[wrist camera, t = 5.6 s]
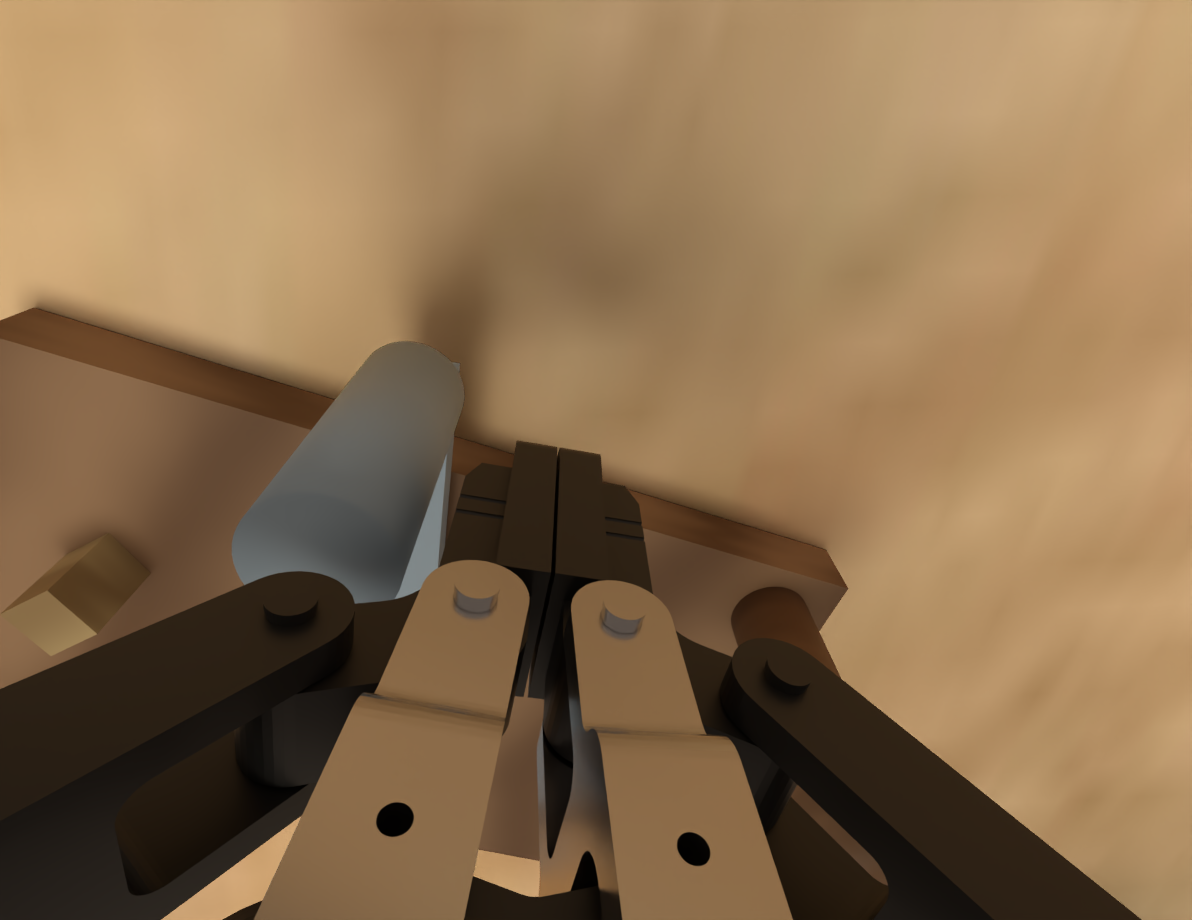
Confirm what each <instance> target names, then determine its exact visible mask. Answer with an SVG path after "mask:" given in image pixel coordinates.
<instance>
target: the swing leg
mask: <svg viewBox="0 0 1192 920" xmlns="http://www.w3.org/2000/svg"><path fill="white" fill-rule="evenodd" d="M459 372H460V363H455V362H451V361H450V360H449V359H448V358H447V357H446V356H444V355H443V354H442V353H441V352H439V351H437V350H436V349H434V348H432V347H430V346H427V345H425V344H422V343H417V342H410V341H401V342H394V343H390V344H387V345H385V346H383V347H380V348H379V349H377V350H376V351H374V352H373V353H372V354H371V355H370V356H369V357H368V359H367V360H366V361H365V362H364V364H363V365H362V366H361V367H360V369H359V370H358V371H357V372H356V374H355V375H354V376H353V378H352V379H351V380H350V381H349V383H348V384H347V385H346V386H345V388H344V389H343V390H342V392H341V393H340V394H339V395H338V397H337V398H336V399H335V400H334V402H333V403H332V404H331V406H330V407H329V408H328V409H327V411H326V412H325V413H324V415H323V416H322V417H321V418H320V420H319V421H318V422H317V423H316V425H315V426H314V427H313V429H312V430H311V431H310V432H309V434H308V435H307V436H306V437H305V439H304V440H303V441H302V443H301V444H300V445H299V446H298V448H297V449H296V450H295V451H294V453H293V454H292V455H291V457H290V458H289V459H288V460H287V462H286V463H285V464H284V466H283V467H282V468H281V469H280V471H279V472H278V473H277V474H276V476H275V477H274V478H273V480H272V481H271V482H270V483H269V485H268V486H267V487H266V488H265V490H264V491H263V492H262V494H261V495H260V496H259V497H258V499H257V500H256V501H255V502H254V504H253V505H252V506H251V508H250V509H249V510H248V511H247V513H246V514H245V515H244V517H243V518H242V519H241V520H240V522H239V524H238V526H237V527H236V530H235V532H234V535H233V540H232V558H233V563H234V566H235V569H236V572H237V573H238V575H239V577H240V579H241V581H242V582H243V584H244V585H246V584H248V583H250V582H253V581H255V580H257V579H260V578H263V577H266V576H269V575H273V574H277V573H283V572H292V571H304V572H314V573H319V574H323V575H326V576H329V577H331V578H333V579H336V580H337V581H339V582H340V583H342V584H343V585H344V586H345V587H346V588H347V589H348V590H349V591H350V593H351V594H352V596H353V599H354V602H355V604H357V603H367V602H378V601H387V600H393V599H397V598H401V597H404V596H407V595H410V594H412V593H414V592H416V591H418V590H420V589H421V587H422V584H423V582H424V581H425V579H426V578H427V576H428V575H429V574H430V573H431V572H433V571H434V570H435V569H437V568H439V566H440V562H441V559H442V555H443V552H444V548H445V538H446V526H447V514H448V502H449V490H450V478H451V467H452V455H453V443H454V432H455V429H456V426H457V423H458V420H459V417H460V414H461V411H462V408H463V405H464V398H465V392H464V386H463V382H462V379H461V376H460V374H459Z"/></svg>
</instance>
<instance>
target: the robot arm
mask: <svg viewBox="0 0 1192 920" xmlns="http://www.w3.org/2000/svg"><path fill="white" fill-rule="evenodd" d="M641 525H642V520H641V513H640V507H639V503H638V502H637V501H636V499H635V498H634V497H633V496H632V494H631V493H630V492H629V491H628V489H627V488H626V487H625V486H621V485H615V484H609V483H603V482H602V468H601V456H600V454H595V453H589V452H583V451H577V450H571V449H565V448H560V449H559V452H558V455H557V447H553V446H547V445H541V444H535V443H529V442H523V441H517V442H516V448H515V454H514V460H513V466H512V468H511V467H505V466H499V465H493V464H487V463H481V464H480V465H478V466H477V467H476V468H475V469H473V470H472V471H471V472H470V473H468V474H467V475H466V476H465V479H464V482H463V486H462V489H461V493H460V497H459V500H458V503H457V507H456V511H455V513H454V517H453V520H452V524H451V527H450V531H449V534H448V538H447V541H446V545H445V548H444V552H443V555H442V559H441V562H440V566H439V568H437V569H435V570H434V571H433V572H431V573H430V574H429V575H428V576H427V578H426V579H425V581H424V582H423V584H422V587H421V589H420V590H418V591H416V592H414V593H412V594H410V595H407V596H404V597H401V598H397V599H393V600H387V601H378V602H367V603H357V604H355V602H354V599H353V596H352V594H351V593H350V591H349V590H348V589H347V588H346V587H345V586H344V585H343V584H342V583H340V582H339V581H337V580H336V579H333V578H331V577H329V576H326V575H323V574H319V573H314V572H304V571H292V572H283V573H277V574H273V575H269V576H266V577H263V578H260V579H257V580H255V581H253V582H250V583H248V584H246V585H243V586H241V587H239V588H236V589H234V590H232V591H229V592H227V593H225V594H222V595H220V596H217V597H215V598H213V599H210V600H208V601H206V602H203V603H201V604H199V605H196V606H194V607H192V608H189V609H187V610H185V611H182V612H180V613H178V614H175V615H173V616H171V617H168V618H166V619H163V620H161V621H159V622H156V623H154V624H152V625H149V626H147V627H145V628H142V629H140V630H138V631H135V632H133V633H131V634H128V635H126V636H124V637H121V638H119V639H116V640H114V641H112V642H109V643H107V644H105V645H102V646H100V647H98V648H95V649H93V650H91V651H88V652H86V653H84V654H81V655H79V656H77V657H74V658H72V659H70V660H67V661H65V662H62V663H60V664H58V665H55V666H53V667H51V668H48V669H46V670H44V671H41V672H39V673H37V674H34V675H32V676H30V677H27V678H25V679H23V680H20V681H18V682H15V683H13V684H11V685H8V686H6V687H4V688H1V689H0V920H161V919H163V918H164V917H165V916H167V915H168V914H169V913H171V912H172V911H173V910H175V909H176V908H177V907H179V906H180V905H181V904H183V903H184V902H185V901H187V900H188V899H189V898H191V897H192V896H194V895H195V894H196V893H198V892H199V891H200V890H202V889H203V888H204V887H206V886H207V885H208V884H210V883H211V882H212V881H214V880H215V879H216V878H218V877H219V876H220V875H222V874H223V873H225V872H226V871H227V870H229V869H230V868H231V867H233V866H234V865H235V864H237V863H238V862H239V861H241V860H242V859H243V858H245V857H246V856H247V855H249V854H250V853H251V852H253V851H254V850H255V849H257V848H258V847H260V846H261V845H262V844H264V843H265V842H266V841H268V840H269V839H270V838H272V837H273V836H274V835H276V834H277V833H278V832H280V831H281V830H282V829H284V828H285V827H286V826H288V825H289V824H291V823H292V822H293V821H295V820H296V819H297V818H299V817H300V816H301V815H302V817H301V819H300V821H299V823H298V826H297V828H296V830H295V832H294V834H293V836H292V838H291V841H290V843H289V845H288V847H287V849H286V851H285V854H284V856H283V858H282V860H281V862H280V864H279V866H278V869H277V871H276V873H275V875H274V877H273V879H272V881H271V884H270V886H269V888H268V890H267V892H266V894H265V897H264V899H263V900H262V901H260V902H258V903H255V904H253V905H251V906H248V907H246V908H243V909H241V910H239V911H237V912H236V913H234V914H232V915H230V916H228V917H226V918H225V919H223V920H1141V919H1140V918H1139V917H1137V916H1136V915H1135V914H1134V913H1132V912H1131V911H1130V910H1129V909H1127V908H1126V907H1125V906H1124V905H1122V904H1121V903H1120V902H1119V901H1118V900H1116V899H1115V898H1114V897H1113V896H1111V895H1110V894H1109V893H1108V892H1106V891H1105V890H1104V889H1103V888H1101V887H1100V886H1099V885H1098V884H1096V883H1095V882H1094V881H1093V880H1091V879H1090V878H1089V877H1088V876H1086V875H1085V874H1084V873H1083V872H1081V871H1080V870H1079V869H1078V868H1076V867H1075V866H1074V865H1073V864H1071V863H1070V862H1069V861H1068V860H1066V859H1065V858H1064V857H1063V856H1061V855H1060V854H1059V853H1058V852H1056V851H1055V850H1054V849H1053V848H1051V847H1050V846H1049V845H1048V844H1046V843H1045V842H1044V841H1043V840H1041V839H1040V838H1039V837H1038V836H1036V835H1035V834H1034V833H1033V832H1031V831H1030V830H1029V829H1028V828H1026V827H1025V826H1024V825H1023V824H1021V823H1020V822H1019V821H1018V820H1017V819H1015V818H1014V817H1013V816H1012V815H1010V814H1009V813H1008V812H1007V811H1005V810H1004V809H1003V808H1002V807H1000V806H999V805H998V804H997V803H995V802H994V801H993V800H992V799H990V798H989V797H988V796H987V795H985V794H984V793H983V792H982V791H980V790H979V789H978V788H977V787H975V786H974V785H973V784H972V783H970V782H969V781H968V780H967V779H965V778H964V777H963V776H962V775H960V774H959V773H958V772H957V771H955V770H954V769H953V768H952V767H950V766H949V765H948V764H947V763H945V762H944V761H943V760H942V759H940V758H939V757H938V756H937V755H935V754H934V753H933V752H932V751H930V750H929V749H928V748H927V747H925V746H924V745H923V744H922V743H920V742H919V741H918V740H917V739H915V738H914V737H913V736H912V735H911V734H909V733H908V732H907V731H906V730H904V729H903V728H902V727H901V726H899V725H898V724H897V723H896V722H894V721H893V720H892V719H891V718H889V717H888V716H887V715H886V714H884V713H883V712H882V711H881V710H879V709H878V708H877V707H876V706H874V705H873V704H872V703H871V702H869V701H868V700H867V699H866V698H864V697H863V696H862V695H861V694H859V693H858V692H857V691H856V690H854V689H853V688H852V687H851V686H849V685H848V684H847V683H846V682H844V681H843V680H842V679H841V678H839V677H838V676H837V675H836V674H834V673H833V672H832V671H831V670H829V669H828V668H827V667H826V666H824V665H823V664H822V663H821V662H819V661H818V660H817V659H816V658H814V657H813V656H812V655H810V654H809V653H807V652H806V651H804V650H802V649H801V648H799V647H797V646H794V645H792V644H790V643H787V642H784V641H781V640H776V639H770V638H755V639H751V640H748V641H745V642H743V643H742V644H741V645H739V646H738V647H737V649H736V650H735V652H734V654H733V657H731V656H728V655H726V654H723V653H721V652H718V651H716V650H713V649H710V648H708V647H705V646H703V645H700V644H698V643H696V642H693V641H691V640H690V639H688V638H686V637H684V636H683V635H681V634H680V633H678V632H677V631H676V630H675V627H674V623H673V620H672V617H671V614H670V612H669V611H668V609H667V607H666V606H665V605H664V604H663V603H662V602H661V601H660V600H659V599H658V598H657V597H656V596H655V595H653V591H652V584H651V578H650V571H649V565H648V558H647V552H646V546H645V542H644V533H643V526H641ZM529 670H530V673H529ZM528 675H529V686H528V698H536V699H544V713H543V721H542V725H541V729H540V734H539V738H538V742H537V780H538V816H539V852H540V886H539V897H528V896H525V895H521V894H519V893H516V892H513V891H511V890H508V889H505V888H503V887H500V886H497V885H495V884H492V883H490V882H487V881H484V880H482V879H479V878H476V877H474V876H473V873H474V869H475V864H476V859H477V854H478V849H479V844H480V839H481V835H482V830H483V825H484V820H485V815H486V810H487V806H488V801H489V796H490V791H491V786H492V781H493V776H494V772H495V767H496V762H497V757H498V752H499V747H500V743H501V738H502V736H503V734H504V733H505V731H506V730H507V727H508V725H509V722H510V717H511V712H512V708H513V703H514V698H515V696H518V697H524V693H525V688H526V684H527V679H528ZM797 785H798V786H799V787H800V788H801V789H803V790H804V791H805V792H806V793H807V794H808V795H809V796H810V797H811V798H812V799H813V800H814V801H815V802H816V803H817V804H818V805H819V806H820V807H821V808H822V809H823V810H824V811H825V812H826V813H827V814H829V815H830V816H831V817H832V818H833V819H834V820H835V821H836V822H837V823H838V824H839V825H840V826H841V827H842V828H843V829H844V830H845V831H846V832H847V833H848V834H849V835H850V836H851V837H852V838H853V839H855V840H856V841H857V842H858V843H859V844H860V845H861V846H862V847H863V848H864V849H865V850H866V851H867V852H868V853H869V854H870V855H871V856H872V857H873V858H874V859H875V861H876V862H877V863H878V865H879V866H880V868H881V869H882V871H883V873H884V875H885V877H886V880H887V883H888V886H887V885H885V884H883V883H881V882H879V881H877V880H876V879H875V878H873V877H872V876H871V875H870V874H869V873H868V872H867V871H866V870H865V869H864V868H863V867H862V866H861V865H860V864H859V863H858V862H857V861H856V860H855V859H854V858H853V857H852V856H851V855H850V854H849V853H848V852H847V851H845V850H844V849H843V848H842V847H841V846H840V845H839V844H838V843H837V842H836V841H835V840H834V839H833V838H832V837H831V836H830V835H829V834H828V833H827V832H826V831H825V830H824V829H823V828H822V827H821V826H820V825H819V824H818V823H817V822H816V821H815V820H814V819H813V818H812V817H811V816H810V815H809V814H808V813H807V812H806V811H805V810H804V809H803V808H802V807H801V806H800V805H799V804H798V803H797V802H796V801H795V800H794V799H793V798H792V797H791V795H792V793H793V792H794V790H795V788H796V786H797Z"/></svg>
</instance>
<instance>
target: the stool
mask: <svg viewBox="0 0 1192 920" xmlns="http://www.w3.org/2000/svg"><path fill="white" fill-rule="evenodd" d="M333 402H334V399H330V398H327V397H324V396H321V395H317V394H314V393H311V392H307V391H304V390H301V389H298V388H294V387H291V386H288V385H285V384H281V383H278V382H275V381H271V380H268V379H265V378H262V377H258V376H255V375H252V374H249V373H245V372H242V371H239V370H235V369H232V368H229V367H226V366H222V365H219V364H216V363H213V362H209V361H206V360H203V359H199V358H196V357H193V356H190V355H186V354H183V353H180V352H177V351H173V350H170V349H167V348H164V347H160V346H157V345H154V344H150V343H147V342H144V341H141V340H137V339H134V338H131V337H128V336H124V335H121V334H118V333H114V332H111V331H108V330H105V329H101V328H98V327H95V326H92V325H88V324H85V323H82V322H78V321H75V320H72V319H69V318H65V317H62V316H59V315H56V314H52V313H49V312H46V311H42V310H39V309H36V308H32V309H29V310H27V311H24V312H21V313H19V314H16V315H14V316H11V317H8V318H6V319H3V320H1V321H0V689H1V688H4V687H6V686H8V685H11V684H13V683H15V682H18V681H20V680H23V679H25V678H27V677H30V676H32V675H34V674H37V673H39V672H41V671H44V670H46V669H48V668H51V667H53V666H55V665H58V664H60V663H62V662H65V661H67V660H70V659H72V658H74V657H77V656H79V655H81V654H84V653H86V652H88V651H91V650H93V649H95V648H98V647H100V646H102V645H105V644H107V643H109V642H112V641H114V640H116V639H119V638H121V637H124V636H126V635H128V634H131V633H133V632H135V631H138V630H140V629H142V628H145V627H147V626H149V625H152V624H154V623H156V622H159V621H161V620H163V619H166V618H168V617H171V616H173V615H175V614H178V613H180V612H182V611H185V610H187V609H189V608H192V607H194V606H196V605H199V604H201V603H203V602H206V601H208V600H210V599H213V598H215V597H217V596H220V595H222V594H225V593H227V592H229V591H232V590H234V589H236V588H239V587H241V586H243V585H244V584H243V582H242V581H241V579H240V577H239V575H238V573H237V572H236V569H235V566H234V563H233V558H232V540H233V535H234V532H235V530H236V527H237V526H238V524H239V522H240V520H241V519H242V518H243V517H244V515H245V514H246V513H247V511H248V510H249V509H250V508H251V506H252V505H253V504H254V502H255V501H256V500H257V499H258V497H259V496H260V495H261V494H262V492H263V491H264V490H265V488H266V487H267V486H268V485H269V483H270V482H271V481H272V480H273V478H274V477H275V476H276V474H277V473H278V472H279V471H280V469H281V468H282V467H283V466H284V464H285V463H286V462H287V460H288V459H289V458H290V457H291V455H292V454H293V453H294V451H295V450H296V449H297V448H298V446H299V445H300V444H301V443H302V441H303V440H304V439H305V437H306V436H307V435H308V434H309V432H310V431H311V430H312V429H313V427H314V426H315V425H316V423H317V422H318V421H319V420H320V418H321V417H322V416H323V415H324V413H325V412H326V411H327V409H328V408H329V407H330V406H331V404H332V403H333ZM513 460H514V454H510V453H507V452H504V451H500V450H497V449H494V448H491V447H487V446H484V445H481V444H478V443H474V442H471V441H468V440H464V439H461V438H458V437H455V436H454V443H453V455H452V467H451V478H450V490H449V502H448V514H447V526H446V538H445V545H446V541H447V538H448V534H449V531H450V527H451V524H452V520H453V517H454V513H455V511H456V507H457V503H458V500H459V497H460V493H461V489H462V486H463V482H464V479H465V476H466V475H467V474H468V473H470V472H471V471H472V470H473V469H475V468H476V467H477V466H478V465H480V464H481V463H487V464H493V465H499V466H505V467H511V468H512V466H513ZM603 483H605V482H603ZM628 491H629V492H630V493H631V494H632V496H633V497H634V498H635V499H636V501H637V502H638V503H639V507H640V513H641V520H642V525H641V526H643V533H644V542H645V546H646V552H647V558H648V565H649V571H650V578H651V584H652V591H653V595H655V596H656V597H657V598H658V599H659V600H660V601H661V602H662V603H663V604H664V605H665V606H666V607H667V609H668V611H669V612H670V614H671V617H672V620H673V623H674V627H675V630H676V631H677V632H678V633H680V634H681V635H683V636H684V637H686V638H688V639H690V640H691V641H693V642H696V643H698V644H700V645H703V646H705V647H708V648H710V649H713V650H716V651H718V652H721V653H723V654H726V655H728V656H731V657H733V654H734V652H735V650H736V649H737V647H738V646H739V645H741V644H742V643H743V642H745V641H748V640H751V639H755V638H770V639H776V640H781V641H784V642H787V643H790V644H792V645H794V646H797V647H799V648H801V649H802V650H804V651H806V652H807V653H809V654H810V655H812V656H813V657H814V658H816V659H817V660H818V661H819V662H821V663H822V664H823V665H824V666H826V667H827V668H828V669H829V670H831V671H832V672H833V673H834V674H836V675H837V676H838V677H839V678H841V677H840V675H839V673H838V671H837V669H836V667H835V664H834V662H833V660H832V658H831V656H830V654H829V652H828V650H827V647H826V645H825V643H824V641H823V639H822V637H821V635H820V633H819V631H820V629H821V628H822V626H823V625H824V623H825V622H826V620H827V619H828V617H829V616H830V614H831V613H832V612H833V610H834V609H835V607H836V606H837V604H838V603H839V601H840V600H841V598H842V597H843V595H844V594H845V593H846V591H847V590H848V587H847V586H846V584H845V582H844V580H843V579H842V577H841V575H840V573H839V572H838V570H837V568H836V566H835V565H834V563H833V561H832V559H831V558H830V556H829V554H828V552H827V551H826V550H824V549H821V548H818V547H814V546H811V545H808V544H805V543H801V542H798V541H795V540H792V539H788V538H785V537H782V536H779V535H775V534H772V533H769V532H765V531H762V530H759V529H756V528H752V527H749V526H746V525H743V524H739V523H736V522H733V521H729V520H726V519H723V518H720V517H716V516H713V515H710V514H707V513H703V512H700V511H697V510H693V509H690V508H687V507H684V506H680V505H677V504H674V503H671V502H667V501H664V500H661V499H657V498H654V497H651V496H648V495H644V494H641V493H638V492H635V491H631V490H628ZM529 673H530V670H529ZM528 686H529V675H528V679H527V684H526V688H525V693H524V697H518V696H515V698H514V703H513V708H512V712H511V717H510V722H509V725H508V727H507V730H506V731H505V733H504V734H503V736H502V738H501V743H500V747H499V752H498V757H497V762H496V767H495V772H494V776H493V781H492V786H491V791H490V796H489V801H488V806H487V810H486V815H485V820H484V825H483V830H482V835H481V839H480V844H479V850H484V851H489V852H495V853H500V854H506V855H511V856H517V857H522V858H527V859H533V860H538V861H540V852H539V816H538V780H537V742H538V738H539V734H540V729H541V725H542V721H543V713H544V699H536V698H528ZM791 797H792V798H793V799H794V800H795V801H796V802H797V803H798V804H799V805H800V806H801V807H802V808H803V809H804V810H805V811H806V812H807V813H808V814H809V815H810V816H811V817H812V818H813V819H814V820H815V821H816V822H817V823H818V824H819V825H820V826H821V827H822V828H823V829H824V830H825V831H826V832H827V833H828V834H829V835H830V836H831V837H832V838H833V839H834V840H835V841H836V842H837V843H838V844H839V845H840V846H841V847H842V848H843V849H844V850H845V851H847V852H848V853H849V854H850V855H851V856H852V857H853V858H854V859H855V860H856V861H857V862H858V863H859V864H860V865H861V866H862V867H863V868H864V869H865V870H866V871H867V872H868V873H869V874H870V875H871V876H872V877H873V878H875V879H876V880H877V881H879V882H881V883H883V884H885V885H887V886H888V883H887V880H886V877H885V875H884V873H883V871H882V869H881V868H880V866H879V865H878V863H877V862H876V861H875V859H874V858H873V857H872V856H871V855H870V854H869V853H868V852H867V851H866V850H865V849H864V848H863V847H862V846H861V845H860V844H859V843H858V842H857V841H856V840H855V839H853V838H852V837H851V836H850V835H849V834H848V833H847V832H846V831H845V830H844V829H843V828H842V827H841V826H840V825H839V824H838V823H837V822H836V821H835V820H834V819H833V818H832V817H831V816H830V815H829V814H827V813H826V812H825V811H824V810H823V809H822V808H821V807H820V806H819V805H818V804H817V803H816V802H815V801H814V800H813V799H812V798H811V797H810V796H809V795H808V794H807V793H806V792H805V791H804V790H803V789H801V788H800V787H799V786H798V785H797V786H796V788H795V790H794V792H793V793H792V795H791ZM300 817H302V815H301V816H300Z"/></svg>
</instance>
